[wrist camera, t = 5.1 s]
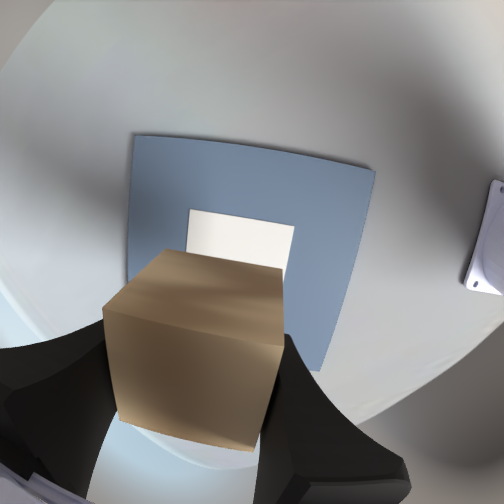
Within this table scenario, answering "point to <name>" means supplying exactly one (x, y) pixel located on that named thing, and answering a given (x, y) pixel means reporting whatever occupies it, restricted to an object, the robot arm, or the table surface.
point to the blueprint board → (254, 221)
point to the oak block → (197, 347)
